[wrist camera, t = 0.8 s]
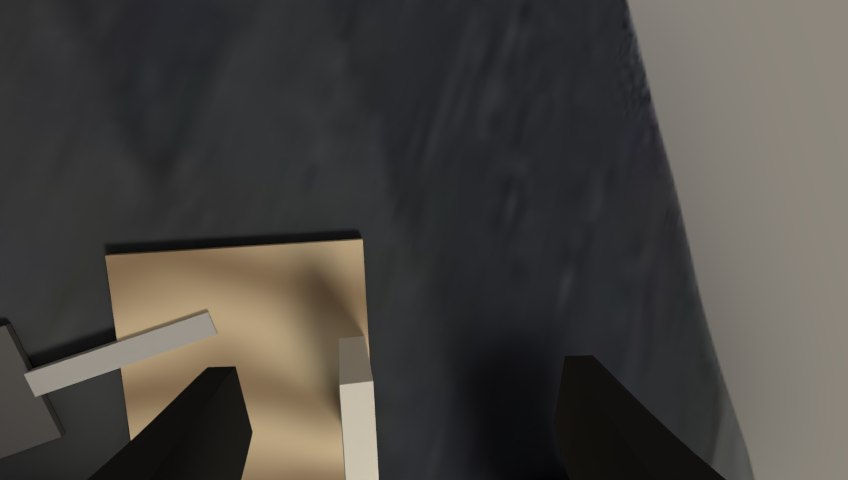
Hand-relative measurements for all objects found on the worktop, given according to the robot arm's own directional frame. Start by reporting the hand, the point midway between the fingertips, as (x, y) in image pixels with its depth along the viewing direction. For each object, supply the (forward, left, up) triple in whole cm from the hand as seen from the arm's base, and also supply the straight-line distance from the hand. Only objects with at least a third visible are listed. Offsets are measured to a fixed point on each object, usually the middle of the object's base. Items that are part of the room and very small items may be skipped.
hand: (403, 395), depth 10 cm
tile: (-8, +1, -18) cm, 20 cm away
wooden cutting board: (-8, +7, -19) cm, 22 cm away
